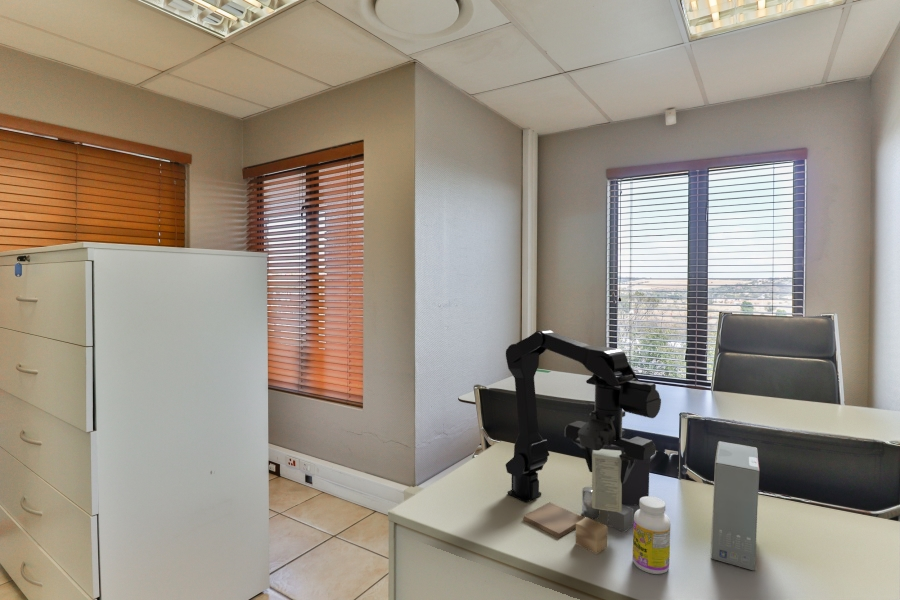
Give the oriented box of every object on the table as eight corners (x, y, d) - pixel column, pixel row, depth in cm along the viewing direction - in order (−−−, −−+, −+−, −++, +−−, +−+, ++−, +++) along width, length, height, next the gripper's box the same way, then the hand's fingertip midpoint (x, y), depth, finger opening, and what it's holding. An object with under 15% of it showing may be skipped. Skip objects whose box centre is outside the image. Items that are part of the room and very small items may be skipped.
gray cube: (607, 525, 107) (607, 508, 107) (616, 519, 109) (617, 502, 109) (623, 532, 104) (624, 514, 104) (632, 526, 106) (633, 509, 106)
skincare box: (621, 504, 103) (622, 450, 103) (621, 513, 99) (623, 457, 99) (591, 499, 106) (592, 446, 105) (590, 508, 101) (592, 453, 101)
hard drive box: (755, 573, 90) (759, 471, 88) (710, 560, 94) (713, 462, 93) (754, 535, 103) (757, 446, 102) (714, 525, 107) (716, 439, 106)
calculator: (643, 499, 119) (645, 441, 118) (649, 507, 115) (650, 447, 114) (599, 496, 120) (600, 439, 119) (603, 505, 116) (604, 445, 115)
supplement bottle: (626, 555, 95) (627, 494, 94) (657, 554, 95) (659, 493, 95) (642, 576, 88) (644, 510, 88) (676, 575, 89) (678, 509, 88)
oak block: (575, 543, 99) (575, 523, 99) (586, 537, 102) (586, 516, 102) (596, 554, 95) (596, 533, 95) (607, 547, 98) (607, 526, 98)
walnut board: (523, 519, 109) (523, 515, 109) (549, 506, 115) (549, 502, 115) (559, 538, 101) (559, 533, 101) (585, 522, 108) (585, 517, 108)
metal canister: (578, 514, 111) (579, 489, 111) (588, 509, 114) (588, 485, 114) (593, 521, 108) (594, 495, 108) (602, 515, 111) (603, 490, 111)
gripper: (550, 404, 103) (549, 473, 104) (630, 425, 89) (628, 505, 90) (579, 396, 110) (578, 460, 111) (657, 414, 96) (655, 487, 97)
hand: (606, 477), depth 102 cm, fingers closed on skincare box, 7 cm apart
